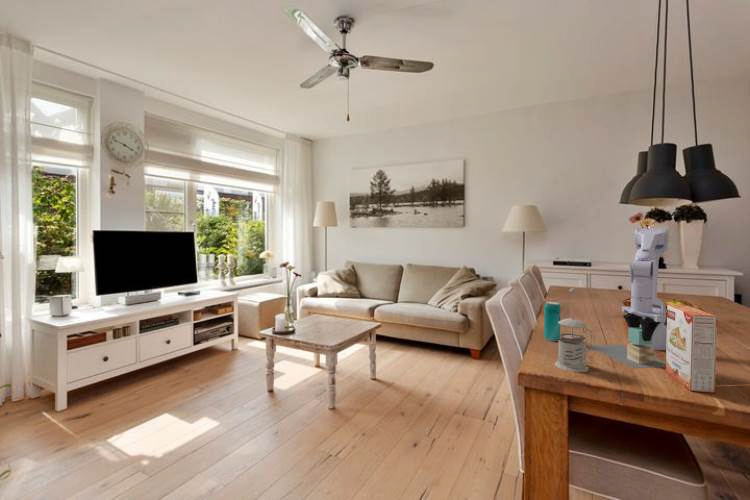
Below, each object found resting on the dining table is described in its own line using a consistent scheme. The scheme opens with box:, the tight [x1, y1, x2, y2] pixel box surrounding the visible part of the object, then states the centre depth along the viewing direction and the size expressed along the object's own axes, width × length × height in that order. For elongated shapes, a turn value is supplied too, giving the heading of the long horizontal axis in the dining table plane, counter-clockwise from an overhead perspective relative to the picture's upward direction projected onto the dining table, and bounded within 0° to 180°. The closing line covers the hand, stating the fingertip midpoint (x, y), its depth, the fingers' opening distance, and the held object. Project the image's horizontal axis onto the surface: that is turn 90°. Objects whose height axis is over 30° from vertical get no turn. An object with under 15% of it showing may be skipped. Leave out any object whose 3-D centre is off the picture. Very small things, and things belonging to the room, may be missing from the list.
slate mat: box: [586, 344, 666, 369], centre depth 126 cm, size 14×23×1 cm, turn 5°
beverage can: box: [543, 301, 562, 342], centre depth 145 cm, size 6×6×15 cm
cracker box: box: [665, 304, 718, 394], centre depth 103 cm, size 14×6×21 cm, turn 163°
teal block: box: [627, 327, 652, 345], centre depth 120 cm, size 4×4×4 cm
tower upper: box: [626, 343, 655, 356], centre depth 121 cm, size 5×5×2 cm
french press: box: [554, 287, 596, 373], centre depth 116 cm, size 10×12×25 cm
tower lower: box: [627, 351, 655, 364], centre depth 121 cm, size 5×5×2 cm
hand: (640, 338), depth 120 cm, fingers closed on teal block, 4 cm apart
